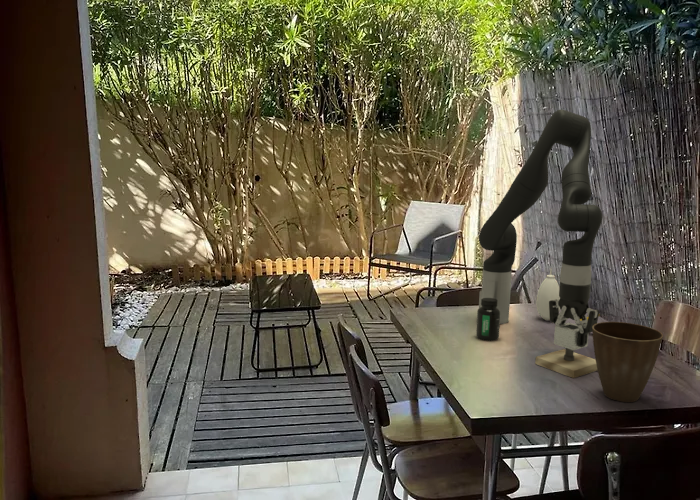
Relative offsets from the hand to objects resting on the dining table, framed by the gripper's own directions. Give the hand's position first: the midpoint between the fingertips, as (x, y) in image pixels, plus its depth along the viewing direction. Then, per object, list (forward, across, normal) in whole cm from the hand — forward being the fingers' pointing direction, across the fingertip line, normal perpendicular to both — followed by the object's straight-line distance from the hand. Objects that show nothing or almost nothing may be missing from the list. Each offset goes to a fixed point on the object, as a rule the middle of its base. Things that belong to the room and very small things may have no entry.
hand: (570, 342), depth 161 cm
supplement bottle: (+7, +29, 0) cm, 30 cm away
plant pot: (+7, -19, +6) cm, 21 cm away
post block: (+7, 0, 0) cm, 7 cm away
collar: (+1, 0, 0) cm, 1 cm away
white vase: (+7, +32, -32) cm, 46 cm away
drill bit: (+7, +16, -30) cm, 35 cm away
